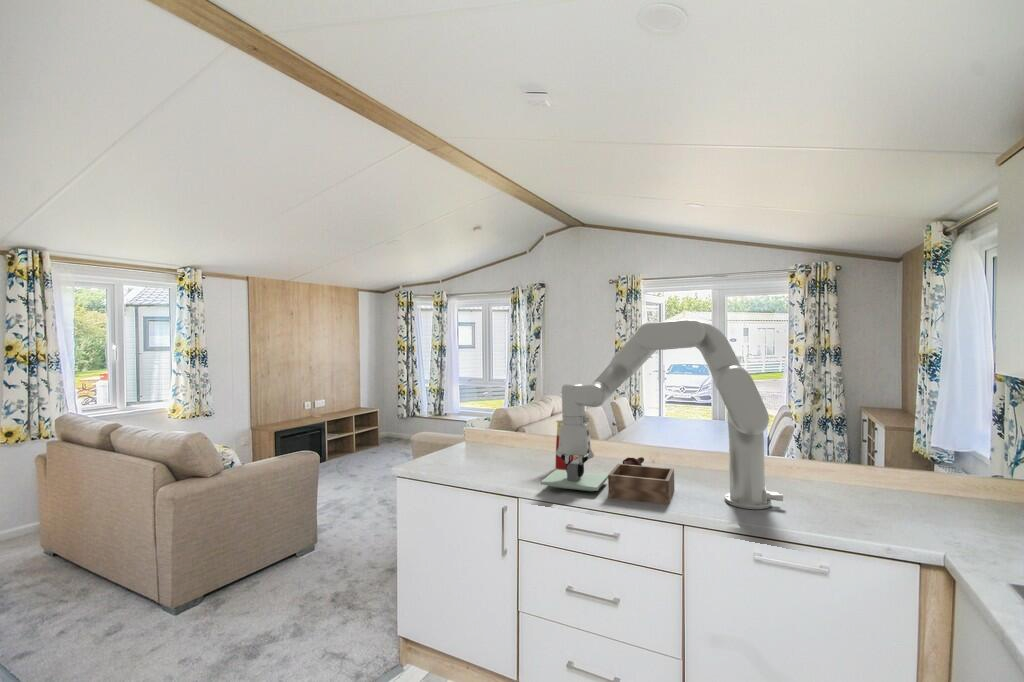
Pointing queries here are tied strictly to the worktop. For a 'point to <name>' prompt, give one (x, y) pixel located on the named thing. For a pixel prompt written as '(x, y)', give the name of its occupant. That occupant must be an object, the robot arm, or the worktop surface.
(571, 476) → the lid
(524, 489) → the worktop surface
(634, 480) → the box
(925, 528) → the worktop surface
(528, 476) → the worktop surface
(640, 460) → the icecream
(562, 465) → the milk carton
